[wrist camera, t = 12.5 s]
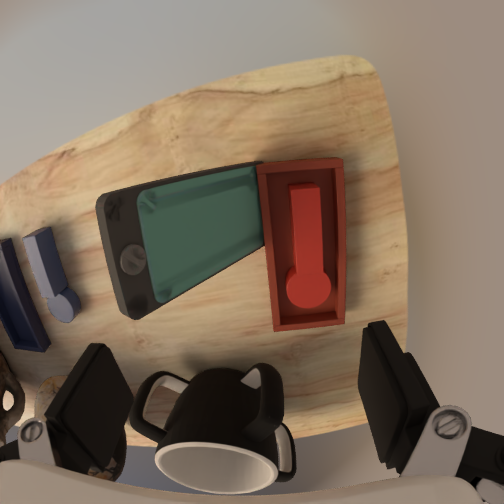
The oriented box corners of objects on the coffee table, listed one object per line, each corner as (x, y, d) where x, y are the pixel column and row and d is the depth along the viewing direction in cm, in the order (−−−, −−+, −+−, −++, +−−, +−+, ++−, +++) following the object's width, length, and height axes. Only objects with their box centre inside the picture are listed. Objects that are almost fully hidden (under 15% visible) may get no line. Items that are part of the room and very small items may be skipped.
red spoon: (276, 185, 25) (278, 191, 22) (323, 180, 25) (331, 186, 22) (286, 300, 29) (288, 318, 26) (327, 296, 29) (333, 312, 26)
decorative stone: (52, 356, 35) (0, 429, 21) (94, 352, 33) (41, 439, 19) (112, 434, 41) (85, 503, 27) (155, 434, 39) (132, 513, 25)
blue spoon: (32, 230, 28) (16, 239, 25) (56, 225, 27) (40, 234, 25) (61, 315, 32) (49, 328, 29) (85, 315, 31) (73, 329, 29)
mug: (177, 425, 38) (160, 493, 27) (146, 341, 32) (108, 420, 21) (292, 425, 37) (297, 499, 26) (293, 338, 31) (304, 429, 20)
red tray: (256, 163, 25) (256, 165, 23) (336, 157, 25) (343, 158, 23) (273, 320, 31) (273, 332, 29) (340, 312, 30) (344, 324, 28)
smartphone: (103, 196, 13) (267, 160, 25) (92, 196, 14) (255, 161, 25) (134, 328, 16) (272, 244, 27) (122, 321, 16) (260, 242, 28)
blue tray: (-17, 244, 29) (-26, 249, 27) (10, 237, 28) (0, 243, 26) (21, 340, 34) (14, 348, 32) (51, 343, 34) (44, 352, 32)
